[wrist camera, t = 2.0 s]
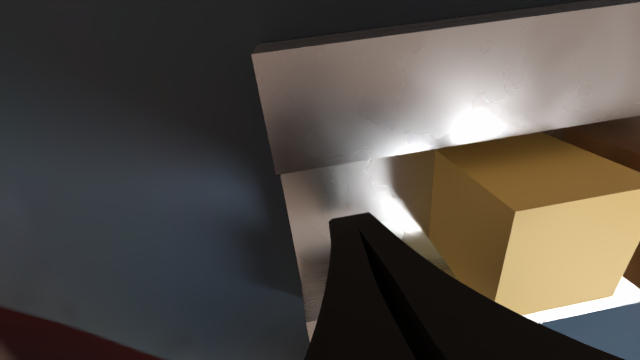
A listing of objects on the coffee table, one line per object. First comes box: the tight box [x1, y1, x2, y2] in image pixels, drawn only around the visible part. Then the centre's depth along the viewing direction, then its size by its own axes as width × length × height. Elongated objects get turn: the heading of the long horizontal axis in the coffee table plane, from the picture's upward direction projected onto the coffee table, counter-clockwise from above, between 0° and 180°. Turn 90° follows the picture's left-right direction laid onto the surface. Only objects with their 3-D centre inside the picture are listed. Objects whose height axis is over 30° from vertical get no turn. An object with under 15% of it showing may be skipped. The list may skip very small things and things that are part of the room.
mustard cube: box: [429, 132, 640, 315], centre depth 10 cm, size 4×4×4 cm
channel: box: [251, 0, 640, 342], centre depth 12 cm, size 12×17×4 cm
